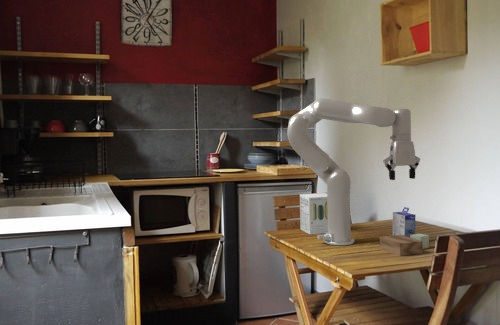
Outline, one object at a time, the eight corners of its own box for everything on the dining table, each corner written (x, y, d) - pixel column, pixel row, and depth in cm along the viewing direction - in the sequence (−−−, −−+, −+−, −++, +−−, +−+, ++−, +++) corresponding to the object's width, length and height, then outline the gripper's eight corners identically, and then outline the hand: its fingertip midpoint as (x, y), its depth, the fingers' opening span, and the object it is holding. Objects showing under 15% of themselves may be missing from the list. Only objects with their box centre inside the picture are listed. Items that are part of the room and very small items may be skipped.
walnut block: (400, 256, 194) (399, 243, 194) (379, 249, 207) (379, 236, 207) (422, 254, 197) (422, 241, 196) (401, 246, 210) (401, 234, 210)
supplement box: (309, 234, 238) (308, 197, 237) (300, 229, 251) (299, 194, 250) (336, 232, 241) (335, 195, 240) (325, 227, 254) (324, 192, 253)
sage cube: (420, 249, 203) (420, 236, 203) (410, 247, 208) (410, 235, 207) (429, 247, 206) (428, 235, 206) (418, 245, 210) (418, 233, 210)
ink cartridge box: (416, 243, 213) (416, 209, 212) (404, 244, 212) (404, 209, 211) (403, 239, 223) (402, 205, 222) (391, 240, 221) (391, 206, 220)
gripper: (388, 139, 210) (389, 181, 211) (424, 137, 215) (425, 178, 216) (378, 139, 217) (379, 179, 218) (413, 137, 222) (414, 177, 223)
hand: (402, 179), depth 217 cm, fingers open, 9 cm apart
